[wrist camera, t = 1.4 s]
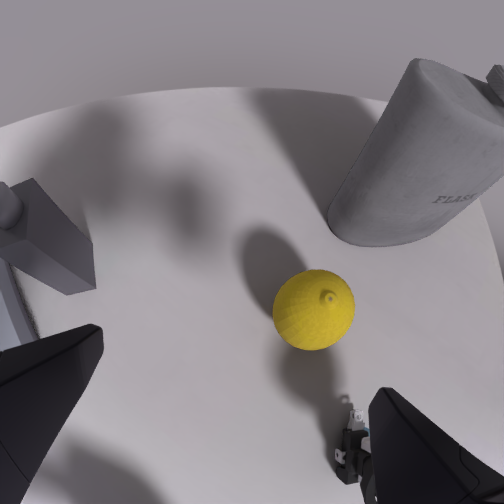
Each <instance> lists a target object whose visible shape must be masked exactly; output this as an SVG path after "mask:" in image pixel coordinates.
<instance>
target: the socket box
mask: <svg viewBox="0 0 504 504" xmlns="http://www.w3.org/2000/svg"><path fill="white" fill-rule="evenodd" d="M36 340H39V339H38V337H37V335H36V333H35V331H34V328H33V326H32V324H31V322H30V319H29V317H28V315H27V312H26V310H25V307H24V305H23V302H22V300H21V297H20V294H19V291H18V289H17V286H16V283H15V280H14V277H13V274H12V271H11V268H10V265H9V263H8V262H7V261H5V260H3V259H2V258H0V351H3V350H6V349H9V348H13V347H16V346H19V345H23V344H26V343H29V342H32V341H36Z"/></svg>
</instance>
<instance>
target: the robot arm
mask: <svg viewBox="0 0 504 504" xmlns="http://www.w3.org/2000/svg"><path fill="white" fill-rule="evenodd" d="M103 351H104V343H103V330H102V328H101V327H99V326H97V325H94V324H87V325H84V326H81V327H78V328H74V329H71V330H68V331H65V332H62V333H59V334H55V335H52V336H49V337H46V338H42V339H39V340H36V341H32V342H29V343H26V344H23V345H19V346H16V347H13V348H9V349H6V350H3V351H0V504H20V503H21V501H22V499H23V497H24V495H25V493H26V491H27V489H28V487H29V486H30V483H31V481H32V479H33V478H34V476H35V474H36V472H37V470H38V468H39V467H40V465H41V463H42V461H43V459H44V458H45V456H46V454H47V452H48V450H49V449H50V447H51V445H52V443H53V442H54V440H55V438H56V437H57V435H58V433H59V432H60V430H61V428H62V426H63V425H64V423H65V422H66V420H67V418H68V417H69V415H70V413H71V412H72V410H73V408H74V407H75V405H76V404H77V402H78V400H79V399H80V397H81V396H82V394H83V392H84V391H85V389H86V387H87V385H88V383H89V381H90V379H91V377H92V375H93V373H94V370H95V368H96V366H97V364H98V362H99V360H100V358H101V356H102V354H103ZM368 414H369V432H370V449H371V457H372V464H373V471H374V479H375V487H376V495H377V504H504V476H502V475H501V474H499V473H498V472H496V471H495V470H493V469H492V468H490V467H489V466H487V465H486V464H485V463H483V462H482V461H480V460H479V459H477V458H476V457H475V456H474V455H472V454H471V453H470V452H468V451H467V450H466V449H465V448H464V447H462V446H461V445H460V446H459V443H457V442H456V441H455V440H454V439H453V438H451V437H450V436H449V435H448V434H447V433H445V432H444V431H443V430H442V429H441V428H439V427H438V426H437V425H436V424H435V423H433V422H432V421H431V420H430V419H429V418H427V417H426V416H425V415H424V414H423V413H421V412H420V411H419V410H418V409H417V408H415V407H414V406H413V405H412V404H411V403H410V402H408V401H407V400H406V399H405V398H404V397H402V396H401V395H400V394H399V393H398V392H396V391H395V390H394V389H393V388H388V387H382V388H380V389H379V390H378V392H377V393H376V395H375V397H374V398H373V400H372V402H371V403H370V405H369V409H368Z"/></svg>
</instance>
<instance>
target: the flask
mask: <svg viewBox="0 0 504 504" xmlns="http://www.w3.org/2000/svg"><path fill="white" fill-rule="evenodd" d="M486 79H487V82H488V84H487V83H485V82H482V81H479V80H477V79H474V78H472V77H469V76H467V75H465V74H463V73H460V72H458V71H456V70H454V69H451V68H449V67H447V66H445V65H442V64H440V63H438V62H435V61H433V60H427V59H417V58H415V59H413V60H412V61H411V62H410V63H409V65H408V67H407V69H406V71H405V73H404V75H403V77H402V79H401V80H400V82H399V84H398V86H397V88H396V90H395V92H394V94H393V96H392V97H391V99H390V101H389V103H388V105H387V107H386V108H385V110H384V112H383V114H382V116H381V118H380V119H379V121H378V123H377V125H376V127H375V128H374V130H373V132H372V134H371V136H370V137H369V139H368V141H367V143H366V144H365V146H364V148H363V150H362V151H361V153H360V155H359V157H358V158H357V160H356V162H355V164H354V165H353V167H352V169H351V171H350V172H349V174H348V176H347V177H346V179H345V181H344V183H343V184H342V186H341V188H340V189H339V191H338V193H337V194H336V196H335V198H334V199H333V201H332V203H331V204H330V206H329V209H328V213H327V218H328V224H329V226H330V228H331V230H332V232H333V233H334V234H335V235H336V236H337V237H338V238H339V239H340V240H342V241H345V242H347V243H349V244H352V245H356V246H362V247H387V246H396V245H402V244H407V243H411V242H414V241H417V240H420V239H422V238H425V237H427V236H429V235H431V234H433V233H434V232H436V231H437V230H438V229H440V228H441V227H442V226H443V225H445V224H446V223H447V222H449V221H450V220H451V219H452V218H454V217H455V216H456V215H457V214H459V213H460V212H461V211H462V210H464V209H465V208H466V207H467V206H468V205H470V204H471V203H472V202H473V201H474V200H476V199H477V198H478V197H479V196H480V195H482V194H483V193H484V192H485V191H486V190H487V189H488V188H489V187H491V186H492V185H493V184H494V183H495V182H496V181H498V180H499V179H500V178H501V177H502V176H503V175H504V66H501V65H494V66H493V68H492V69H491V71H490V72H489V74H488V75H487V77H486Z"/></svg>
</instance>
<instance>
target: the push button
mask: <svg viewBox="0 0 504 504" xmlns="http://www.w3.org/2000/svg"><path fill="white" fill-rule="evenodd" d="M353 414H354V418H353V417H352V415H353ZM359 415H361V418H360V419H359ZM364 425H365V423H363V411H359V410H358V409H356V410H351V411H350V422H349V423H348V428H346V429H343V440H342V452H341V451H340V450H339V449H337V448H336V450H335V460H337V461H338V462H339V463H340V464H341V467H337V469H336V476H337V477H338V478H339V479H340V480H341V481H342V482H343V483H344V484H346V485H348V484H353V483H358V482H360V487H361V491H362V494H363V498H364V502H365V504H377V502H376V499H375V496H376V497H377V495H376V487H375V479H374V471H373V464H372V457H371V449H370V432H369V429H368V428H366V427H364ZM337 453H338V457H337Z"/></svg>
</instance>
